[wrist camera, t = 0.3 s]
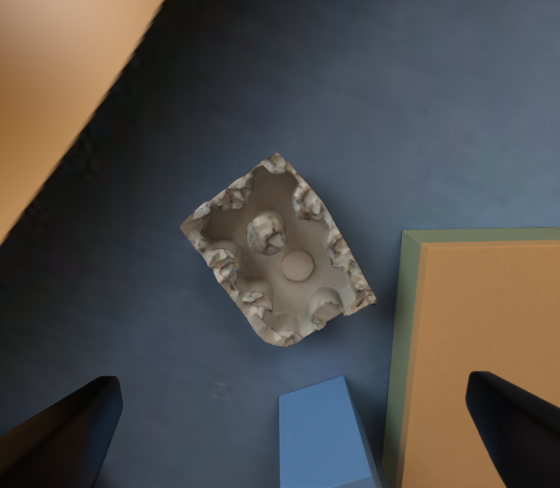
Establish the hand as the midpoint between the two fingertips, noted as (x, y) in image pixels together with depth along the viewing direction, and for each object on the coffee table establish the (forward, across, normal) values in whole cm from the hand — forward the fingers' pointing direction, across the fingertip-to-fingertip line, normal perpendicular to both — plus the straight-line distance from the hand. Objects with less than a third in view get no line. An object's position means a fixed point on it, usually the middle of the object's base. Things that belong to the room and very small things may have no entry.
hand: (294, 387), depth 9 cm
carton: (+14, -3, +14) cm, 20 cm away
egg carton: (+14, 0, +1) cm, 14 cm away
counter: (+14, -13, +9) cm, 21 cm away
